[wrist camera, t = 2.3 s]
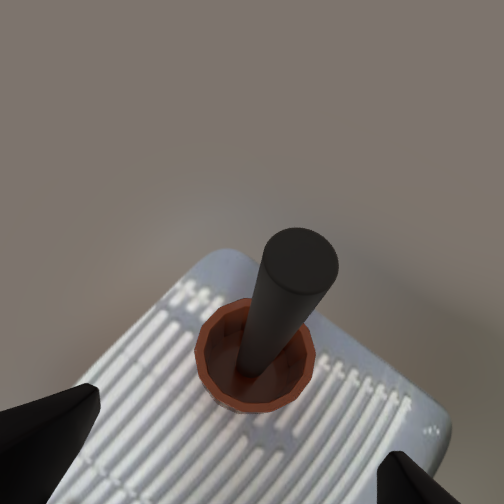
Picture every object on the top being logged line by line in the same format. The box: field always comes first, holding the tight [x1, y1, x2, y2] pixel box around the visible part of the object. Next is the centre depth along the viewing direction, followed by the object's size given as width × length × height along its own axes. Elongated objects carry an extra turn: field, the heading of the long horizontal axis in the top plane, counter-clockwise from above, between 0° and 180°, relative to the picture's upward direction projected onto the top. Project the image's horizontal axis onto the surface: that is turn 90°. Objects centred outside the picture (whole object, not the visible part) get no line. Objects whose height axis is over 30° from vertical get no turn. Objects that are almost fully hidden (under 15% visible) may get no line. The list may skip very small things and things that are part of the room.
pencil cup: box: [194, 298, 316, 414], centre depth 17 cm, size 6×6×5 cm
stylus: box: [236, 228, 339, 378], centre depth 13 cm, size 2×2×14 cm
